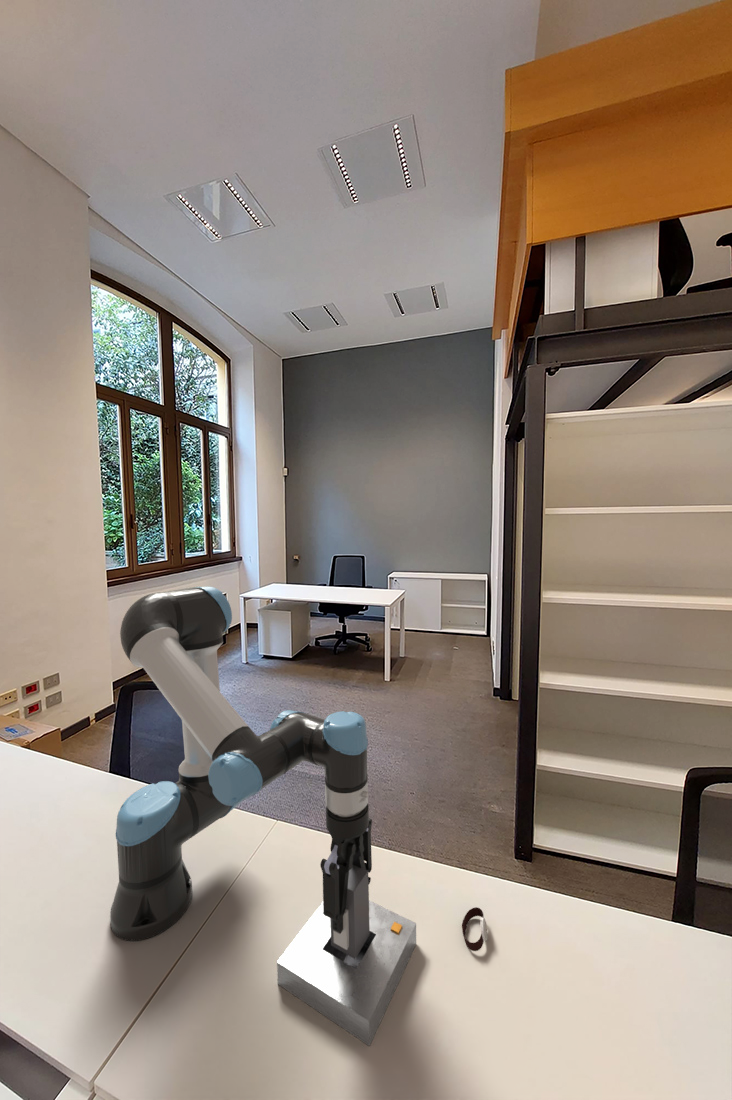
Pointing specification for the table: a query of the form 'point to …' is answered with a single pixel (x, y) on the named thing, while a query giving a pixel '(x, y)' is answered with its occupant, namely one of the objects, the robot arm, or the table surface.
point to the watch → (483, 926)
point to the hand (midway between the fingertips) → (350, 930)
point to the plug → (356, 911)
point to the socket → (349, 970)
